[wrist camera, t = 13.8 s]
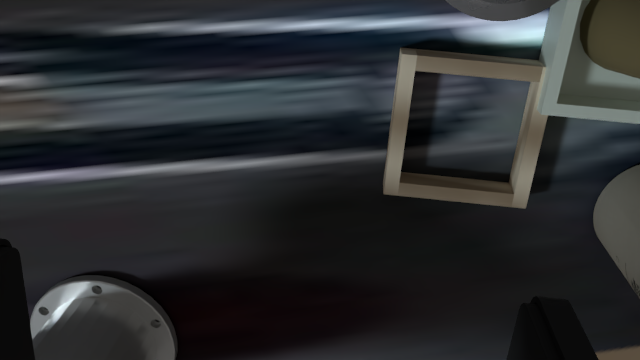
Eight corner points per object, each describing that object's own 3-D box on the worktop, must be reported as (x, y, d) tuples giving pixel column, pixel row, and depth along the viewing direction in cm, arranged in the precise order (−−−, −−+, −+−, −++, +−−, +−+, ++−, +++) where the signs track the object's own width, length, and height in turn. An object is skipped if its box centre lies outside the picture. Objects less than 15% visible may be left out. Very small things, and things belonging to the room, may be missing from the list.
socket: (519, 196, 45) (525, 208, 43) (383, 182, 45) (383, 194, 43) (550, 61, 41) (559, 68, 39) (400, 47, 41) (401, 53, 39)
